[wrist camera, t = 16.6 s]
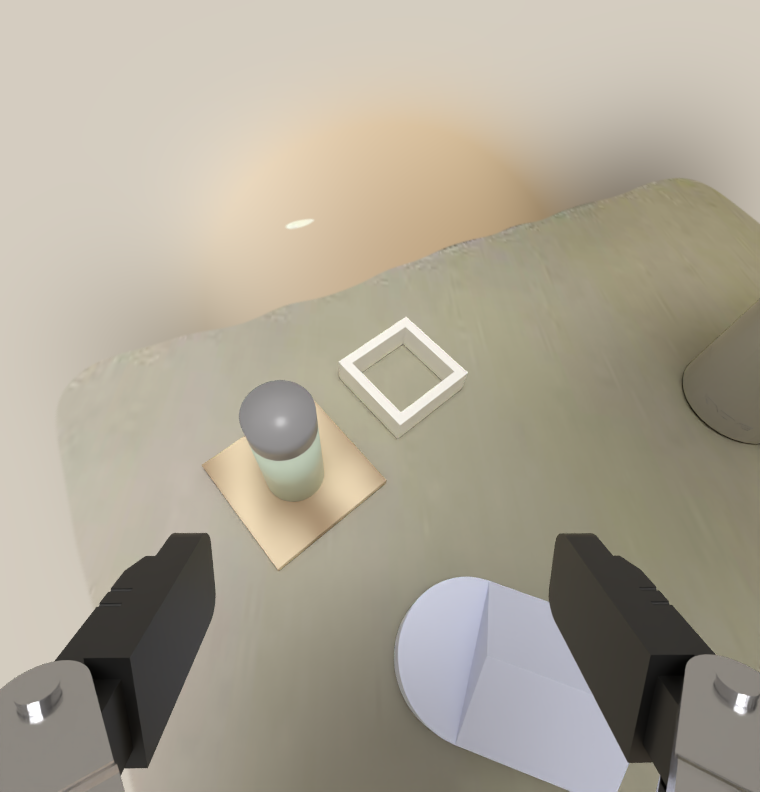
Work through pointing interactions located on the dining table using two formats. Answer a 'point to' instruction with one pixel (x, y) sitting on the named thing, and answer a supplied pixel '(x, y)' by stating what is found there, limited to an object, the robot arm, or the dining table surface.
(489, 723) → the wedge on round base
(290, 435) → the plug
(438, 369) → the collar
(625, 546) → the dining table surface
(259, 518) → the pad
